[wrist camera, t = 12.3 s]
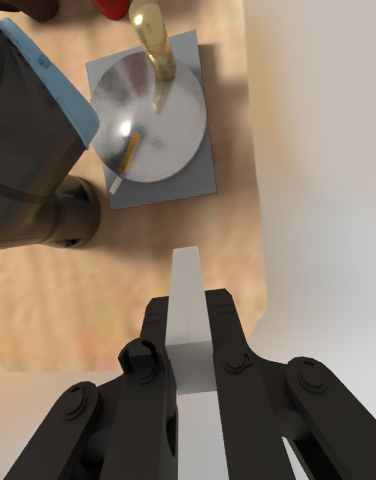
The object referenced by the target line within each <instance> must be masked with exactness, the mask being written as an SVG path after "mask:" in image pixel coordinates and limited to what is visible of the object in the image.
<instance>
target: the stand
mask: <svg viewBox="0 0 376 480" xmlns="http://www.w3.org/2000/svg"><path fill="white" fill-rule="evenodd" d="M169 41H170V45H171V48H172V51H173V55H174V57H175V58H177V59H179V60H180V61H181V62H183V63H184V64H185V65H186V66H187V67H188V68H189V69H190V70H191V71H192V73H193V74H194V75H195V77H196V78H197V80H198V82H199V84H200V86H201V89H202V92H203V96H204V89H203V81H202V73H201V65H200V57H199V50H198V42H197V35H196V29H195V30H191V31H188V32H185V33H182V34H178V35H175V36H172V37H169ZM141 51H144V49H143V47H142V46H139V47H136V48H133V49H130V50H126V51H123V52H120V53H117V54H113V55H110V56H107V57H104V58H100V59H97V60H94V61H91V62H87V63H86V69H87V74H88V80H89V86H90V92H91V97H92V94H93V92H94V90H95V87H96V85H97V84H98V82H99V80H100V79H101V77H102V76H103V75H104V73H105V72H106V71H107V70H108V69H109V68H110V67H111V66H112V65H113V64H115V63H116V62H117V61H119V60H120V59H122V58H124V57H126V56H128V55H131V54H133V53H137V52H141ZM204 100H205V96H204ZM205 106H206V104H205ZM206 115H207V112H206ZM103 168H104V174H105V180H106V186H107V191H108V197H109V203H110V209H123V208H129V207H135V206H141V205H147V204H153V203H159V202H165V201H172V200H178V199H184V198H190V197H196V196H202V195H208V194H214V193H217V190H216V182H215V174H214V167H213V159H212V151H211V143H210V135H209V128H208V120H207V126H206V133H205V137H204V141H203V144H202V146H201V148H200V151H199V152H198V154H197V156H196V158H195V159H194V160H193V161H192V163H191V164H190V165H189V166H188V167H187V168H186V169H185V170H184V171H183V172H181V173H180V174H179V175H177V176H175V177H174V178H172V179H169V180H167V181H164V182H160V183H154V184H143V183H137V182H134V181H131V180H128V179H126V178H124V177H122V176H119V175H118V174H116V173H115V172H113V171H112V170H111V169H109V168H108V167H107V166H106V165H105V164H104V163H103Z"/></svg>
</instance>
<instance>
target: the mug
mask: <svg viewBox="0 0 376 480" xmlns="http://www.w3.org/2000/svg"><path fill="white" fill-rule="evenodd" d="M58 9H59V4H58V0H0V11H6V12H20V11H22V12H23V13H25V14H26V15H28V16H30V17H31V18H33V19H35V20H36V21H38V22H44V21H46V20H48V19H50V18H51V17H53V16H54V15H55V13H56V12H57V11H58Z"/></svg>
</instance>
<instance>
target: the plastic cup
mask: <svg viewBox="0 0 376 480" xmlns="http://www.w3.org/2000/svg"><path fill="white" fill-rule="evenodd" d="M92 1H93V2H94V4H95V5H96V6H97V7H98V8H99V10H100V11H101V12H102V13H103V14H104V16H106V17H107V18H108V19H111V20H118V19H120V18H122V17H123V16H124V15H125V14H126V12H127V11H128V8H129V5H130V0H92Z"/></svg>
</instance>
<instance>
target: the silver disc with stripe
mask: <svg viewBox="0 0 376 480" xmlns="http://www.w3.org/2000/svg"><path fill="white" fill-rule="evenodd" d="M129 19H130V21H131V23H132V26H133V28H134V30H135V32H136V34H137V36H138V39H139V41H140V43H141V45H142V47H143V49H144V51H141V52H137V53H133V54H131V55H128V56H126V57H124V58H122V59H120V60H119V61H117V62H116V63H115V64H113V65H112V66H111V67H110V68H109V69H108V70H107V71H106V72H105V73H104V75H103V76H102V77H101V79H100V80H99V82H98V84H97V85H96V87H95V90H94V92H93V94H92V97H91V101H90V105H91V106H92V108H93V109H94V110H95V111H96V113H97V115H98V117H99V123H100V126H99V130H98V132H97V133H96V135H95V136H94V138H93V139H92V144H93V147H94V149H95V151H96V153H97V155H98V156H99V157H100V159H101V160H102V162H103V163H104V164H105V165H106V166H107V167H108V168H109V169H111V170H112V171H113V172H115V173H116V174H118V175H119V176H122V177H124V178H126V179H128V180H131V181H134V182H137V183H143V184H154V183H160V182H164V181H167V180H169V179H172V178H174V177H175V176H177V175H179V174H180V173H181V172H183V171H184V170H185V169H186V168H187V167H188V166H189V165H190V164H191V163H192V161H193V160H194V159H195V158H196V156H197V154H198V152H199V151H200V148H201V146H202V144H203V141H204V137H205V133H206V126H207V115H206V106H205V100H204V96H203V92H202V89H201V86H200V84H199V82H198V80H197V78H196V77H195V75H194V74H193V73H192V71H191V70H190V69H189V68H188V67H187V66H186V65H185V64H184V63H183V62H181V61H180V60H179V59H177V58H175V57H174V55H173V51H172V48H171V45H170V41H169V38H168V34H167V31H166V28H165V24H164V21H163V18H162V14H161V11H160V7H159V4H158V1H157V0H133V1H132V3H131V5H130V8H129Z"/></svg>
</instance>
